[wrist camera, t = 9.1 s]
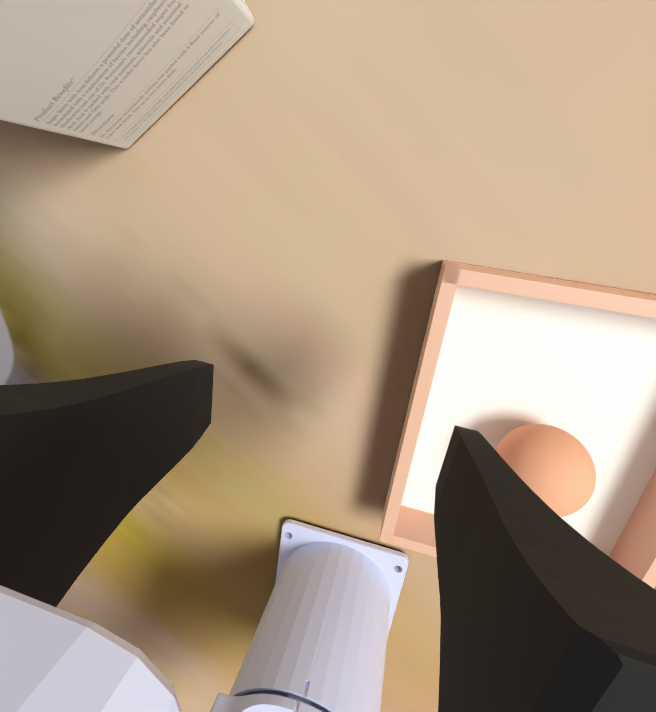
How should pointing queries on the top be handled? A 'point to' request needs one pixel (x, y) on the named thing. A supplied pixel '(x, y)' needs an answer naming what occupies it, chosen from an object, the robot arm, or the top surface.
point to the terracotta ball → (551, 465)
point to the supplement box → (108, 61)
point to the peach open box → (536, 397)
